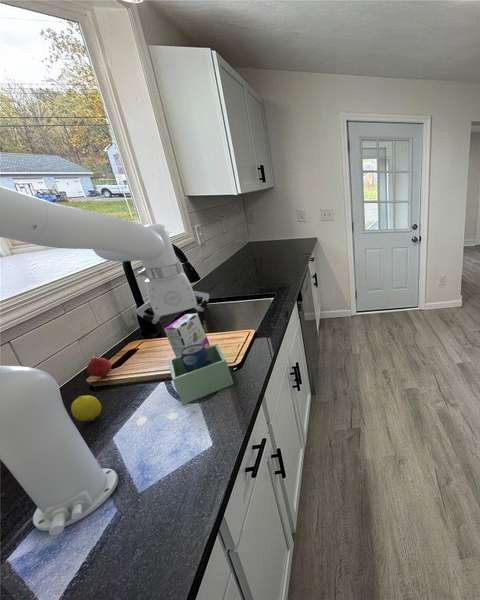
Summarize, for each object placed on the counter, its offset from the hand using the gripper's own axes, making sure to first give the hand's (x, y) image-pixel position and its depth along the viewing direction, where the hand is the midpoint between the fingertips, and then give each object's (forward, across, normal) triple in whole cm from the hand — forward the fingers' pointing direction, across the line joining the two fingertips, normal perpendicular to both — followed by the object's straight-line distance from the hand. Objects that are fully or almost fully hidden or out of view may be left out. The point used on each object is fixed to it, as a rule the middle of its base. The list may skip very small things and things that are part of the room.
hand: (183, 328), depth 90 cm
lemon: (+20, -26, +5) cm, 34 cm away
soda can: (+19, +1, +1) cm, 19 cm away
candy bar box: (+20, +1, +18) cm, 27 cm away
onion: (+20, -25, +31) cm, 45 cm away
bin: (+20, +1, +1) cm, 20 cm away
